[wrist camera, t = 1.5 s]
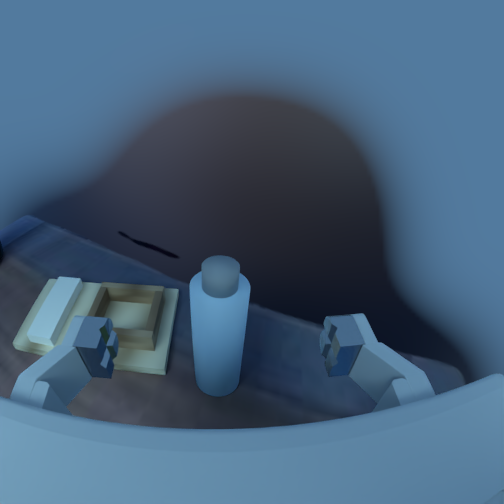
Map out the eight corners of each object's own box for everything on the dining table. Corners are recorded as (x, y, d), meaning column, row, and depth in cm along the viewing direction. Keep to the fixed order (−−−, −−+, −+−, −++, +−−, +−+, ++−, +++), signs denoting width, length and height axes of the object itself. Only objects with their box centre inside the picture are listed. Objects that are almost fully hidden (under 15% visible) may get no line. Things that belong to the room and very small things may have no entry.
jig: (15, 348, 30) (4, 330, 28) (51, 284, 42) (45, 266, 40) (165, 374, 32) (161, 356, 30) (178, 295, 44) (177, 275, 42)
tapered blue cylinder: (194, 395, 30) (185, 285, 22) (196, 360, 35) (192, 247, 26) (239, 397, 31) (254, 288, 22) (238, 361, 35) (250, 250, 26)
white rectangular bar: (30, 341, 30) (26, 334, 30) (61, 284, 40) (59, 276, 40) (54, 346, 31) (50, 338, 30) (83, 286, 41) (80, 278, 40)
